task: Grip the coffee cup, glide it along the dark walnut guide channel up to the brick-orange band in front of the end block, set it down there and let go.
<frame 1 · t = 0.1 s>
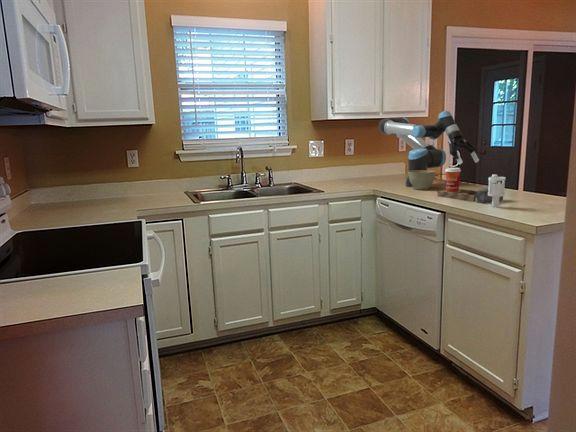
hand: (469, 162, 256), 15 cm above the countertop, tool tilted 35°, fingers open, 13 cm apart
planter bowl: (421, 189, 264), on the countertop
guide channel: (464, 197, 228), on the countertop
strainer: (495, 207, 200), on the countertop
coffee cup: (452, 196, 235), on the countertop
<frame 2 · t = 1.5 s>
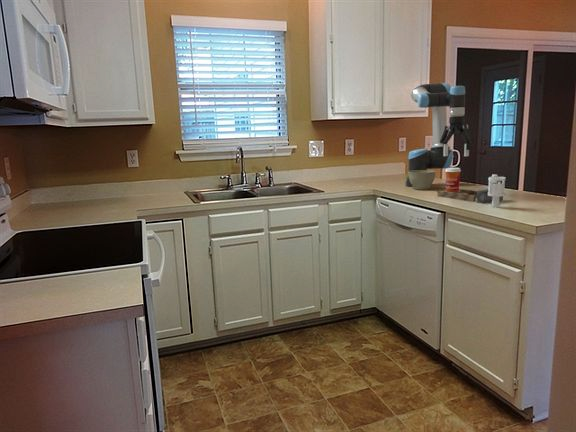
hand: (455, 156, 232), 21 cm above the countertop, tool pointing down, fingers open, 13 cm apart
nothing on the countertop moved.
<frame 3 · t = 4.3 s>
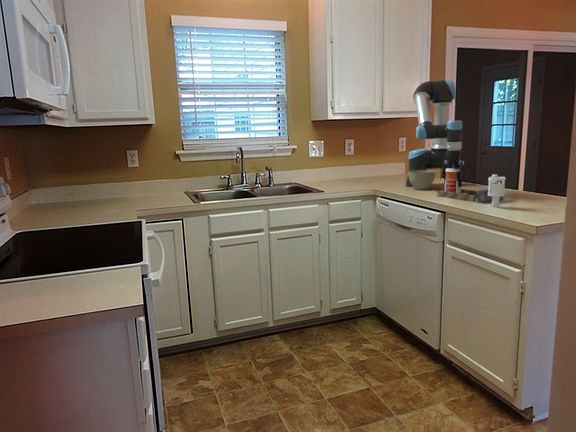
hand: (452, 191, 235), 2 cm above the countertop, tool pointing down, fingers closed on coffee cup, 7 cm apart
coffee cup: (452, 195, 235), on the countertop, touching gripper
everything else where it was.
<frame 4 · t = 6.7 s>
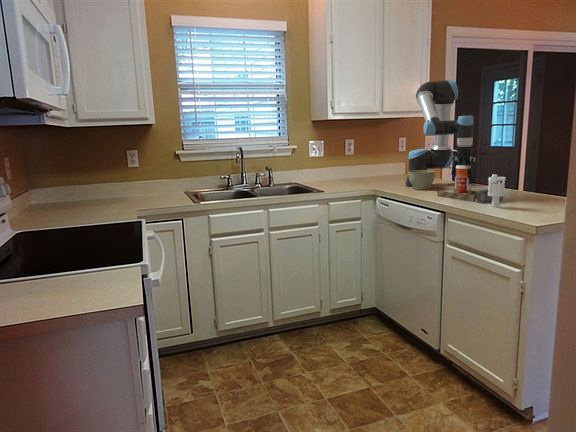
hand: (463, 189, 228), 4 cm above the countertop, tool pointing down, fingers closed on coffee cup, 7 cm apart
coffee cup: (462, 193, 229), point 2 cm above the countertop, touching gripper
everything else where it was.
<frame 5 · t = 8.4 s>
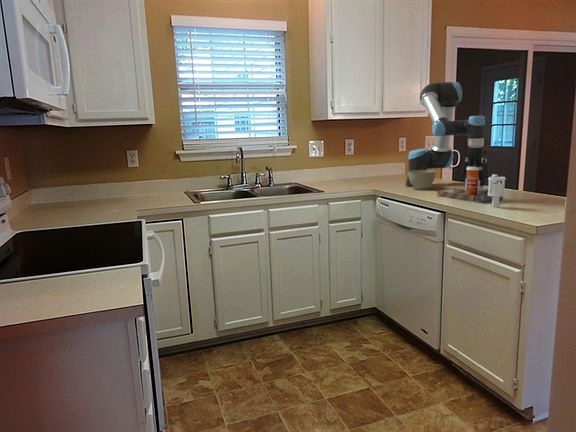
hand: (473, 191, 222), 4 cm above the countertop, tool pointing down, fingers closed on coffee cup, 7 cm apart
coffee cup: (473, 195, 223), point 2 cm above the countertop, touching gripper
everything else where it was.
when the fingers open (3 cm above the countertop, at t = 9.4 s): coffee cup stays where it is, on the countertop.
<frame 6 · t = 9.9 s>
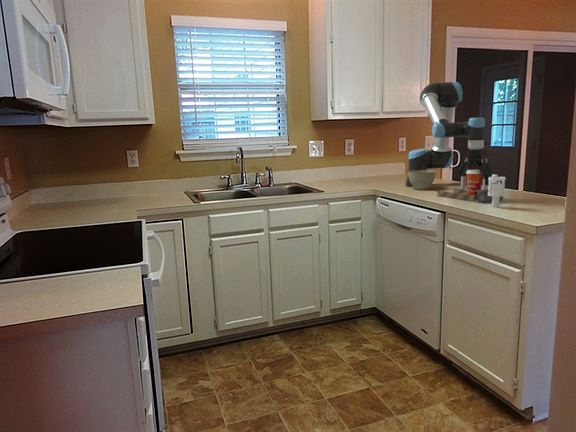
hand: (473, 189, 222), 5 cm above the countertop, tool pointing down, fingers open, 13 cm apart
coffee cup: (473, 199, 223), on the countertop
everything else where it was.
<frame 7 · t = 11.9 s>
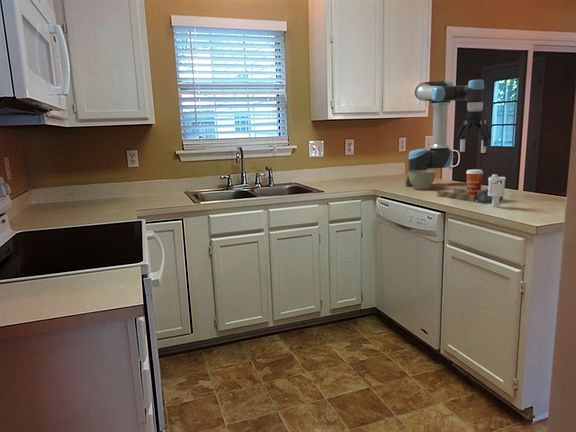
hand: (472, 152, 227), 24 cm above the countertop, tool pointing down, fingers open, 13 cm apart
nothing on the countertop moved.
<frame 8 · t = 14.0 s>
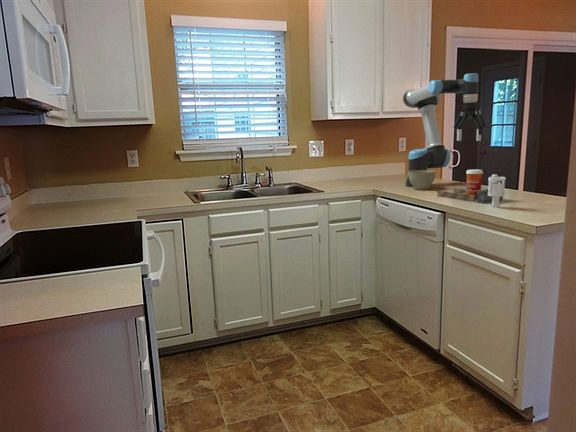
hand: (468, 140, 244), 29 cm above the countertop, tool pointing down, fingers open, 13 cm apart
nothing on the countertop moved.
at the end: coffee cup 0.1 cm from the target spot, on the countertop; coffee cup tilted 0°; the gripper is holding nothing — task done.
